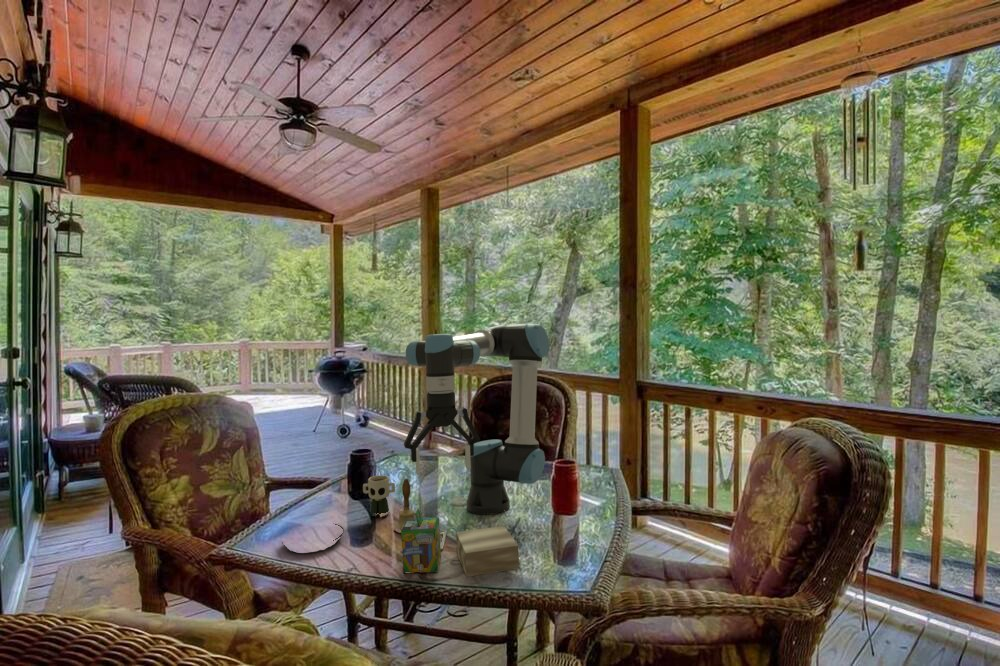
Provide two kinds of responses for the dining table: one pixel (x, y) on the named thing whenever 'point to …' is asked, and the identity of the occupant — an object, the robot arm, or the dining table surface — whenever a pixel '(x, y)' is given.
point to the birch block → (487, 550)
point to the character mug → (379, 493)
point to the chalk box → (421, 544)
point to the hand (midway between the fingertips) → (443, 471)
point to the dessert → (443, 539)
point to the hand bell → (405, 505)
